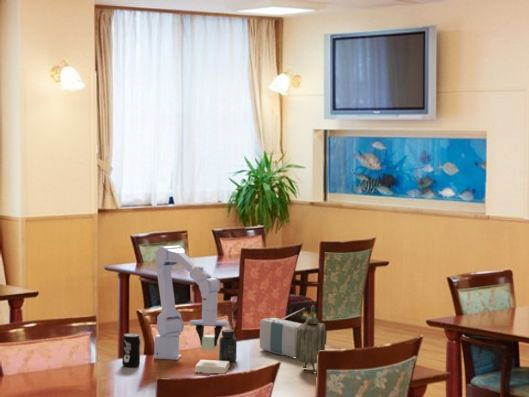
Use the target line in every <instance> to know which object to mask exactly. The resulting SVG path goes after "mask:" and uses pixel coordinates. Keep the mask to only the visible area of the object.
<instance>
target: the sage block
mask: <svg viewBox="0 0 529 397" xmlns="http://www.w3.org/2000/svg"><path fill="white" fill-rule="evenodd" d="M214 339H215V334H203V337H202V345H201V350H202V351H211V352H212V351H215V350H216V346H217V345H216V346H214Z"/></svg>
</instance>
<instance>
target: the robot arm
mask: <svg viewBox="0 0 529 397" xmlns="http://www.w3.org/2000/svg"><path fill="white" fill-rule="evenodd" d="M154 256H155V264H156V275H157V281H158V282H157V284H158V289H159V290H158V291H159V298H160V299H159V300H160V305H161V306H160V307H161V312H160V313H159V314H158V315H157V317H156V319H157V321H156V330H157V333H158V334H156V335H155V337H154V349H153V350H154V352H153V354H154V355H153V359H156V360H157V359H159V360H179V359H180V357H182V354H180V336H181V334H182V332H184V328H185V325H184V320H183V319H182V314H181V312H179V311H178V310H177V309H176V303H175V302H176V301H175V300H176V299H175V293H174V286H173V279H172V269H173V268H174V267H175V266H176V265H177V264H179V265H180V266H181V267H183V268H184V269H185V270H186V271H187V272H189V277H190V279H192V280H193V281H194V282H195V284H197V285H198V289H199V291H200V297H201V303H202V304H201V319H190V321H189V326H190V327H193V326H195V330H196V333H197V334H198V339H199V342H200V346H202V337H203V335H205V331H204V330H205V327H213V328H214V331H213V332H214V335H215V339H214V346H218V342H219V337H220V334H221V333H222V330H223V328H229V326H230V325H229V321H227V320H226V321H225V320H224V321H223V320H218V293H219V292H220V291H221V287H222V285H221V284H222V283H221V280H220V279H219V277H217V276H214V277H213V276H212V275H211V274H210V273H209V272H207V271H206V270H205V269H204V266H203V265H196V264H195V263H194V262H193V260H191V258H190V257H189V256H188V255H187V254H186V251H185V249H184V248H183V247H182V246H181V245H178V244H176V245H169V246H167V245H166V246H158V248H157V250H156V251H155V253H154Z"/></svg>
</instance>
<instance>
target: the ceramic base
mask: <svg viewBox="0 0 529 397" xmlns="http://www.w3.org/2000/svg"><path fill="white" fill-rule="evenodd" d="M194 368H195V370H194V371H195V373H196V372H198V373H196V374H200V373H199V372H202V373H201V374H210V373H225V372H226V373H227V372H228V370H229V369H230V362H229V361H219V360H218V359H217V360H215V359H213V360H212V359H199V361H198V362H197V363H196V365H195V367H194ZM228 368H229V369H228ZM226 373H225V374H226Z"/></svg>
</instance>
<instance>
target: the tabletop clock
mask: <svg viewBox="0 0 529 397" xmlns="http://www.w3.org/2000/svg"><path fill="white" fill-rule="evenodd" d="M315 308H316V306H315V305H314V304H312V305H311V307H310V316H309V317H308V318H306V320H305V322H304V323H301V325H300V326H299V327H298V329H297V337H296V358H295V359H296V360H297V361H298V362H300V363H304V365H303V366H302V369H303V368H308V367H307V365H308V363H309V364H310V365H311V367H312V369H313V370H312V373H313V372H316V370H317V369H316V368H315V364H317V355H318V351H319V350H325V351H326V323H322V322H321V323H320V322H319V321H320V320H319V319H318V318H317V317H315V310H316V309H315Z"/></svg>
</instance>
